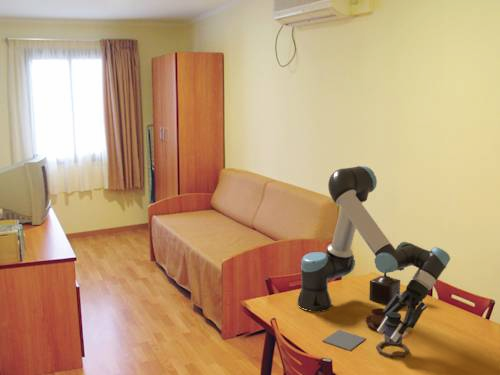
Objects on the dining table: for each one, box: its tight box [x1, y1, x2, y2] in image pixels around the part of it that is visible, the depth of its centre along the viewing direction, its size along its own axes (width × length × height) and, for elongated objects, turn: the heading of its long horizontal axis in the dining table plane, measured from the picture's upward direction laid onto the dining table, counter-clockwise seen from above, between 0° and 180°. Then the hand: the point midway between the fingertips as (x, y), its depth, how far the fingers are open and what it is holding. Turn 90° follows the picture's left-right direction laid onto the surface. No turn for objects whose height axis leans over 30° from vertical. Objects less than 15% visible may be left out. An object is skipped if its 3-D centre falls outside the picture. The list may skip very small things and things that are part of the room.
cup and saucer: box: [365, 307, 385, 330], centre depth 204 cm, size 12×12×6 cm
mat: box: [322, 329, 367, 352], centre depth 193 cm, size 12×12×1 cm
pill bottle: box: [384, 312, 403, 347], centre depth 183 cm, size 6×6×11 cm
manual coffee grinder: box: [369, 268, 405, 306], centre depth 232 cm, size 16×11×18 cm
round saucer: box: [375, 340, 410, 359], centre depth 184 cm, size 11×11×1 cm
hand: (386, 336), depth 181 cm, fingers closed on pill bottle, 6 cm apart
